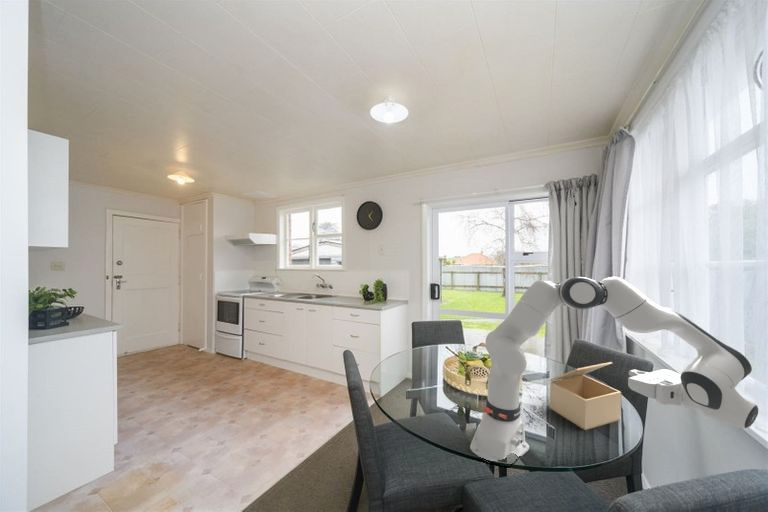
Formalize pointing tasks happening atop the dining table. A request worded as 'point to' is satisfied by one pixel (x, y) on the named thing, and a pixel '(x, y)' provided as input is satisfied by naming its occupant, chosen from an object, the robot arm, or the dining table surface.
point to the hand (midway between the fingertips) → (631, 371)
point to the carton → (585, 401)
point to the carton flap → (580, 371)
